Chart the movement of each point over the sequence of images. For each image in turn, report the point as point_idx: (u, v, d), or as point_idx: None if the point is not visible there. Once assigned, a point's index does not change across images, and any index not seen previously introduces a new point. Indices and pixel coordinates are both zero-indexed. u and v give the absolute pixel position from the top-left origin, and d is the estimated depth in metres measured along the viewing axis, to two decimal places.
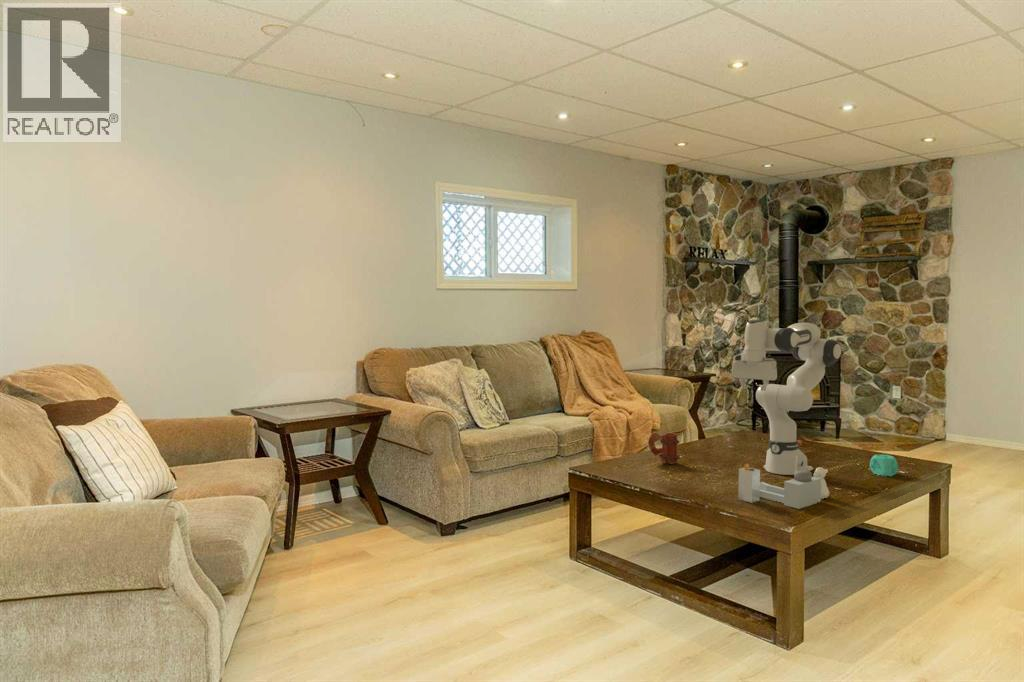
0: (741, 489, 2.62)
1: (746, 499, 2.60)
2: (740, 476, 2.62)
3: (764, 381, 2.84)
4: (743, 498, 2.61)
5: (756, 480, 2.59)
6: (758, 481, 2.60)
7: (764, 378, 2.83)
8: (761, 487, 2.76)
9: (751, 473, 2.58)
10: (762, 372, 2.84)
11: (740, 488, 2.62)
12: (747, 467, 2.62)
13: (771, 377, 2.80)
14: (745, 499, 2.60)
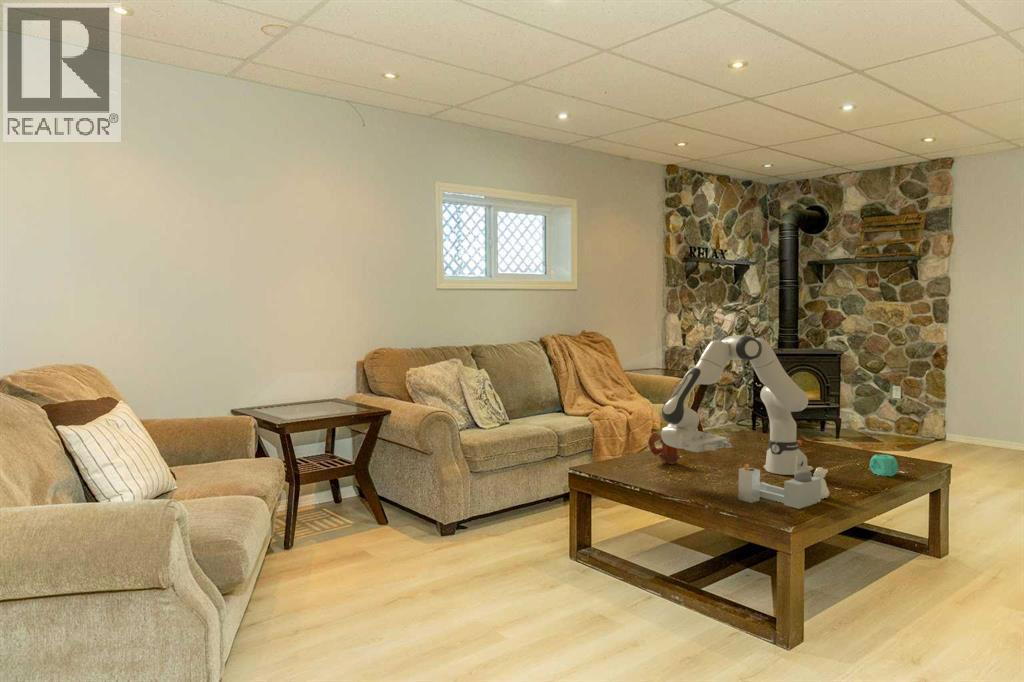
0: (741, 489, 2.62)
1: (746, 499, 2.60)
2: (740, 476, 2.62)
3: None
4: (743, 498, 2.61)
5: (756, 480, 2.59)
6: (758, 481, 2.60)
7: None
8: (761, 487, 2.76)
9: (751, 473, 2.58)
10: None
11: (740, 488, 2.62)
12: (747, 467, 2.62)
13: (695, 451, 2.70)
14: (745, 499, 2.60)
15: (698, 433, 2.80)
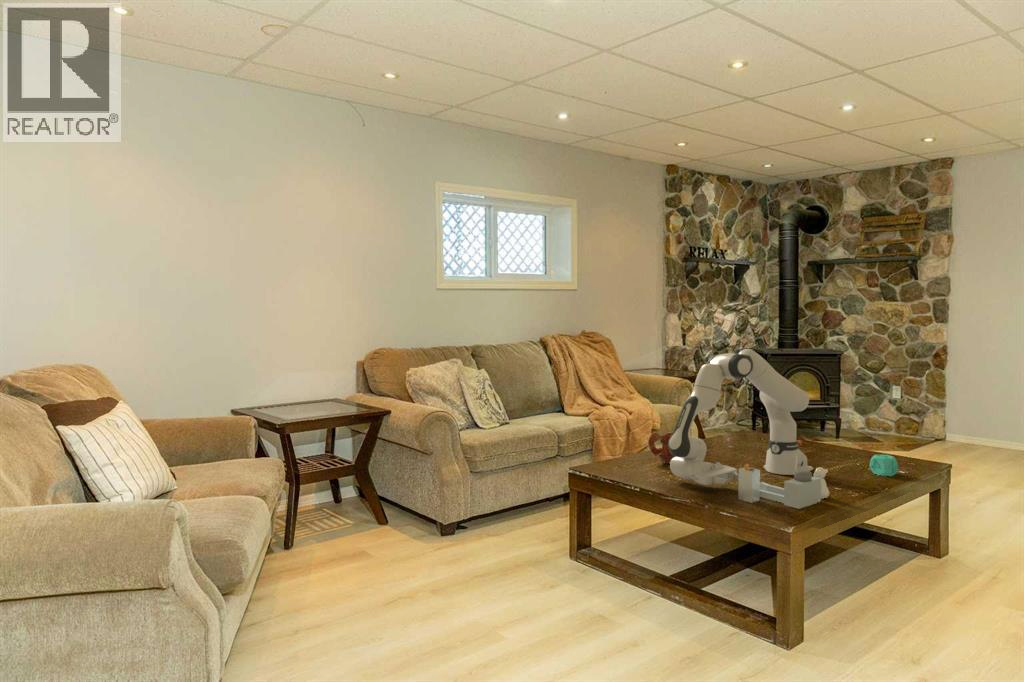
0: (741, 489, 2.62)
1: (746, 499, 2.60)
2: (740, 476, 2.62)
3: None
4: (743, 498, 2.61)
5: (756, 480, 2.59)
6: (758, 481, 2.60)
7: (711, 483, 2.68)
8: (761, 487, 2.76)
9: (751, 473, 2.58)
10: None
11: (740, 488, 2.62)
12: (747, 467, 2.62)
13: (705, 484, 2.67)
14: (745, 499, 2.60)
15: (707, 464, 2.77)
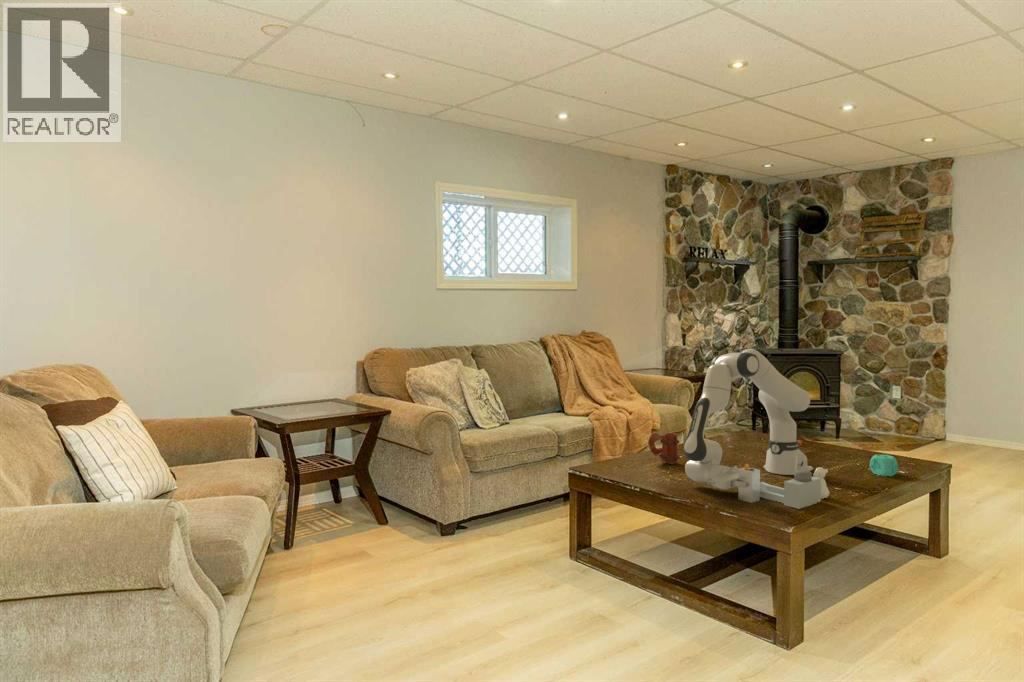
0: (741, 489, 2.62)
1: (746, 499, 2.60)
2: (740, 476, 2.62)
3: None
4: (743, 498, 2.61)
5: (756, 480, 2.59)
6: (758, 481, 2.60)
7: None
8: (761, 487, 2.76)
9: (751, 473, 2.58)
10: None
11: (740, 488, 2.62)
12: (747, 467, 2.62)
13: None
14: (745, 499, 2.60)
15: (724, 468, 2.71)
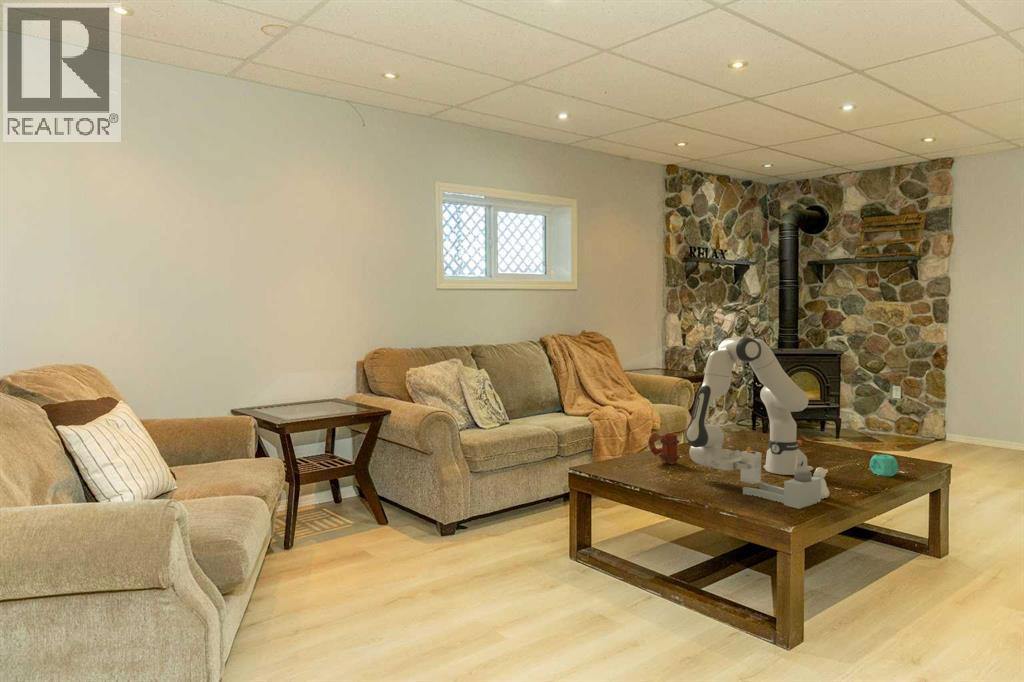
0: (743, 471, 2.74)
1: (748, 480, 2.72)
2: (742, 458, 2.74)
3: None
4: (745, 479, 2.74)
5: (757, 462, 2.72)
6: (759, 463, 2.73)
7: None
8: (761, 487, 2.76)
9: (753, 455, 2.70)
10: None
11: (742, 470, 2.74)
12: (749, 450, 2.75)
13: (725, 470, 2.73)
14: (747, 480, 2.73)
15: (727, 452, 2.83)
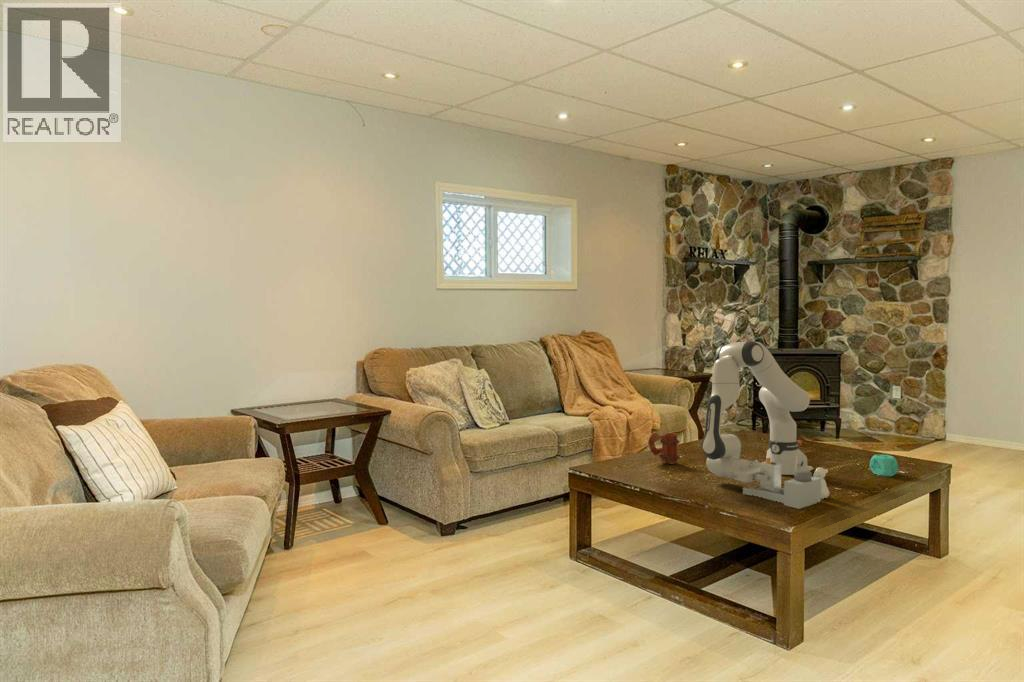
0: (762, 482, 2.68)
1: None
2: (762, 470, 2.68)
3: None
4: None
5: (777, 473, 2.65)
6: (779, 474, 2.66)
7: (751, 481, 2.67)
8: None
9: (773, 467, 2.64)
10: None
11: (762, 481, 2.68)
12: (769, 461, 2.68)
13: (745, 482, 2.66)
14: None
15: (746, 462, 2.76)
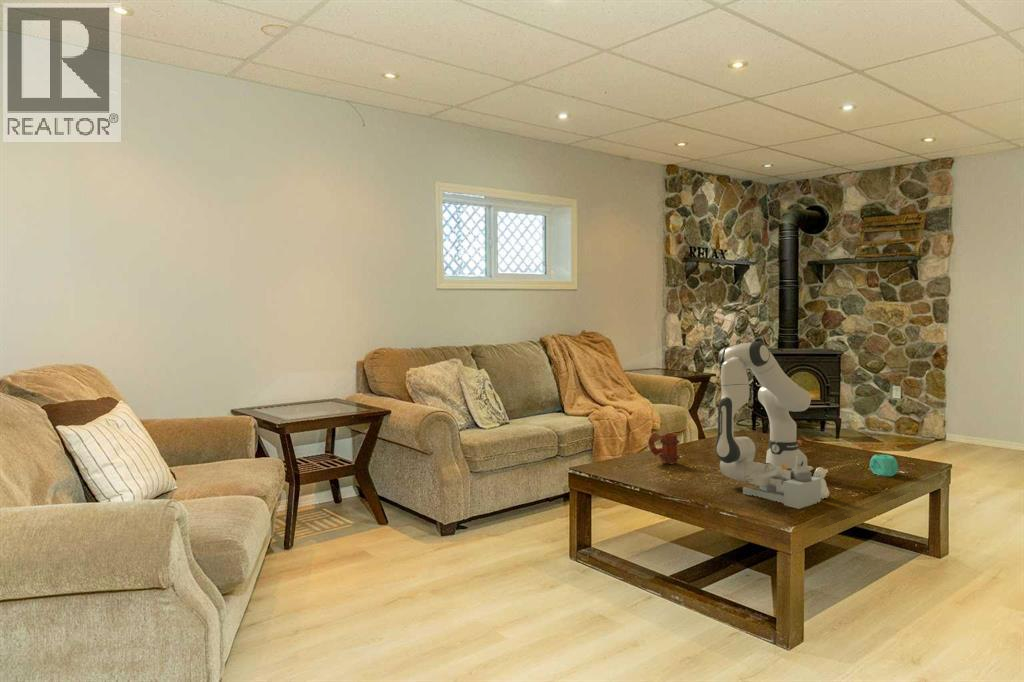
0: (779, 489, 2.62)
1: None
2: (778, 475, 2.62)
3: None
4: None
5: None
6: None
7: None
8: (761, 487, 2.76)
9: (789, 472, 2.58)
10: None
11: (778, 487, 2.62)
12: (785, 466, 2.62)
13: None
14: None
15: (761, 465, 2.71)
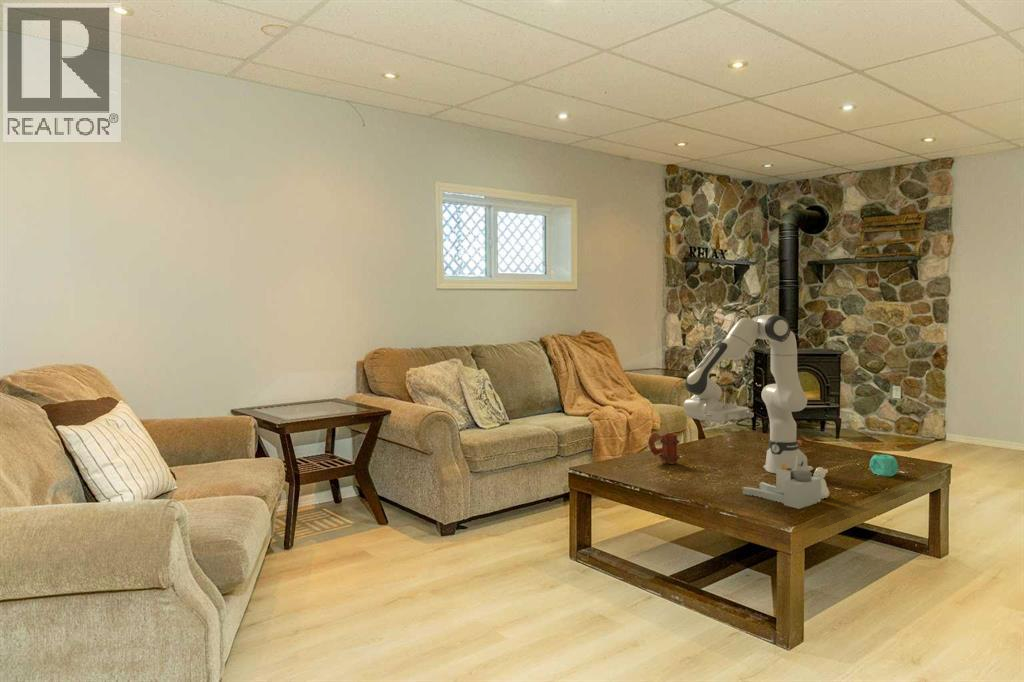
0: (779, 489, 2.62)
1: None
2: (778, 475, 2.62)
3: (728, 419, 2.75)
4: None
5: None
6: None
7: (725, 420, 2.76)
8: (761, 487, 2.76)
9: (789, 472, 2.58)
10: None
11: (778, 487, 2.62)
12: (785, 466, 2.62)
13: (718, 421, 2.75)
14: None
15: (720, 404, 2.85)
